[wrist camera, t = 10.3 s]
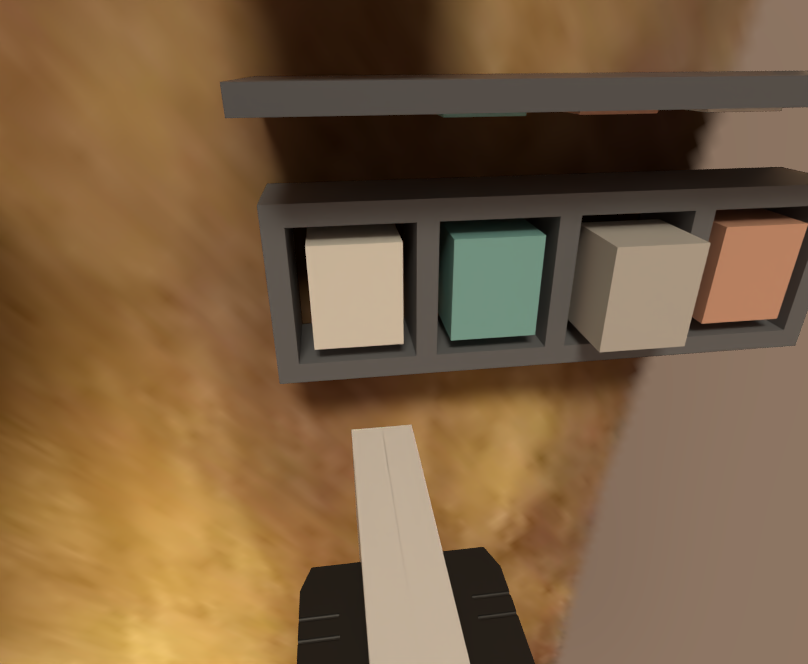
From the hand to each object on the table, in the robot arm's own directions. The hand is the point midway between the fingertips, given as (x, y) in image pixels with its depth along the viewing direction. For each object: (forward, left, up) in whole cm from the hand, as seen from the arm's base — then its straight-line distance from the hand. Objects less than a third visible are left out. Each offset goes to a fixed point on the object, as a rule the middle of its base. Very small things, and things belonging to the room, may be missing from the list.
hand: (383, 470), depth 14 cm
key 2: (+7, 0, -16) cm, 17 cm away
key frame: (+10, 0, -16) cm, 19 cm away
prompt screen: (+10, +8, -16) cm, 21 cm away
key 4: (+20, 0, -16) cm, 25 cm away
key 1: (0, 0, -16) cm, 16 cm away
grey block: (+13, 0, -14) cm, 19 cm away
